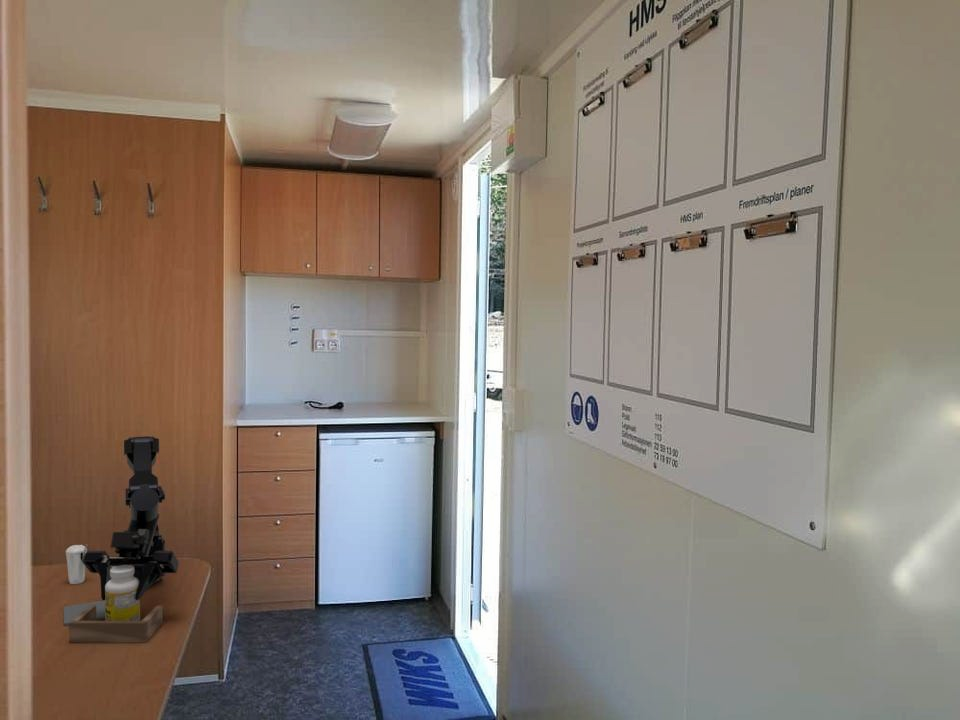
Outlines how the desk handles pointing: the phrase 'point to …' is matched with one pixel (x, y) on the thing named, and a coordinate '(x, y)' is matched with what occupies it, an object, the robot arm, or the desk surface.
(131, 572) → the supplement bottle
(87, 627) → the frame
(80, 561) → the milkshake
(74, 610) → the charcoal mat
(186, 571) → the desk surface
